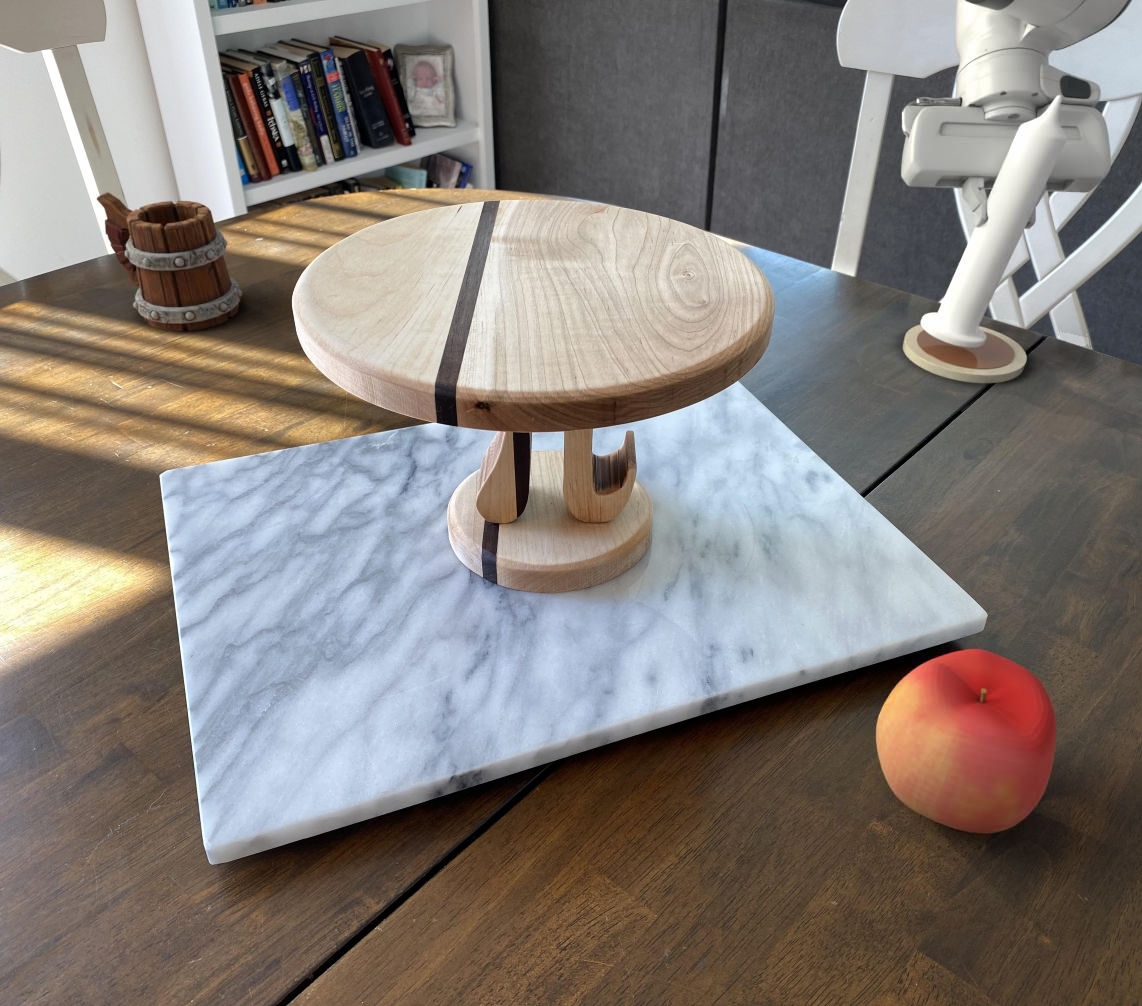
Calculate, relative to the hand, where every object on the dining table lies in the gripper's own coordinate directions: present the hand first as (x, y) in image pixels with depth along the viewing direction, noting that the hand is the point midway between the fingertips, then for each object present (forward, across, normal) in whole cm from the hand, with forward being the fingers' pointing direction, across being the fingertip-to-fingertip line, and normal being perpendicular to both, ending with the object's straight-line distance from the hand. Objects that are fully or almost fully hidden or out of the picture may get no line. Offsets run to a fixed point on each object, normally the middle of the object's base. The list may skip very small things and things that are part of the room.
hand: (1004, 225), depth 95 cm
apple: (+53, -18, -31) cm, 64 cm away
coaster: (+10, 0, +11) cm, 15 cm away
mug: (+8, -90, +14) cm, 92 cm away
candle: (+9, -2, +9) cm, 13 cm away
